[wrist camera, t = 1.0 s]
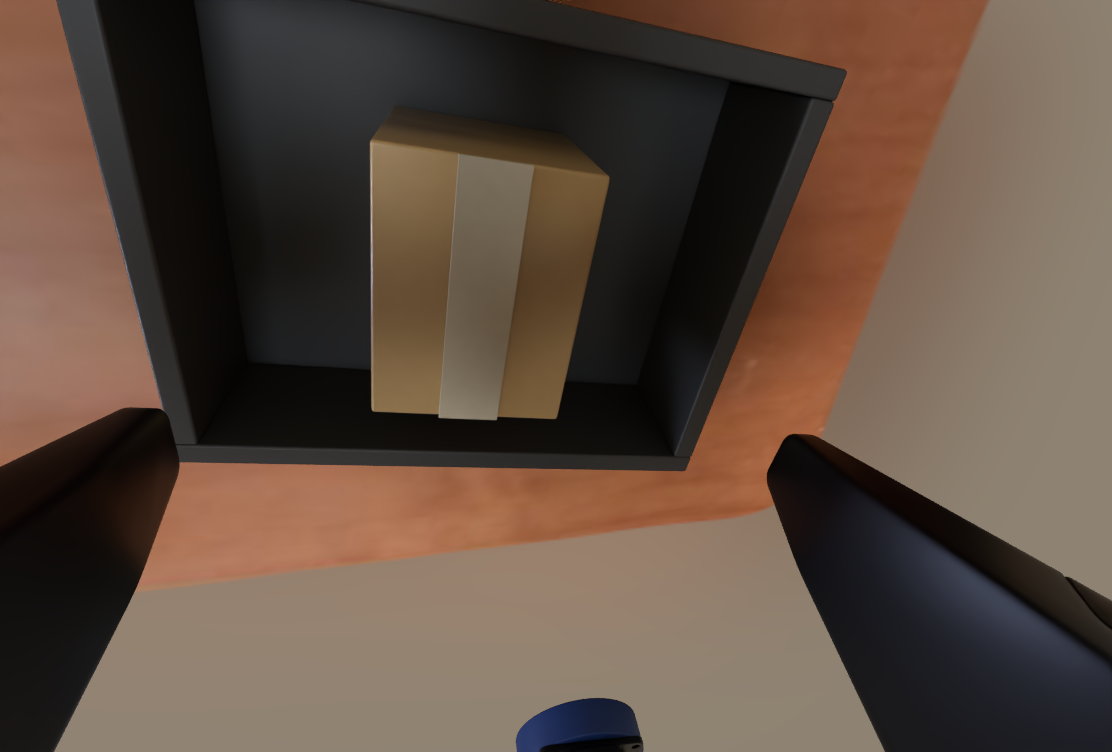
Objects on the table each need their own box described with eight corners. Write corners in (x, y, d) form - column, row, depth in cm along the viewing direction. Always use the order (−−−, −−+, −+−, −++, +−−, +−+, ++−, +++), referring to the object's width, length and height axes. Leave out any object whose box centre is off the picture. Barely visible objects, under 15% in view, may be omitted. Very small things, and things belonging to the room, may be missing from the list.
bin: (643, 391, 20) (686, 472, 17) (234, 368, 17) (175, 463, 13) (748, 59, 15) (849, 70, 11) (161, -73, 11) (21, -122, 8)
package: (531, 328, 18) (557, 422, 13) (390, 316, 16) (370, 415, 12) (565, 134, 14) (612, 178, 10) (393, 104, 13) (367, 139, 9)
